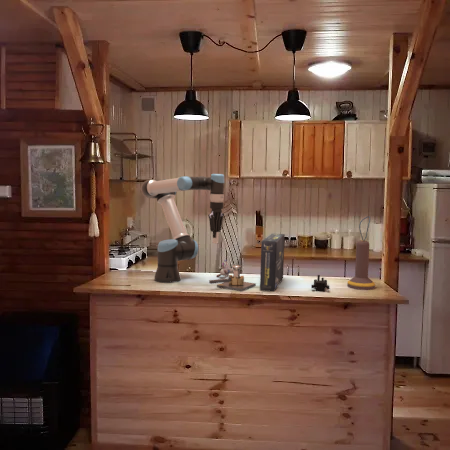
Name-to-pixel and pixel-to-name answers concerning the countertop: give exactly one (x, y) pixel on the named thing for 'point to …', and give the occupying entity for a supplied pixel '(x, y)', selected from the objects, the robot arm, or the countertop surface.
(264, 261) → the box
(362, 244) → the flashlight
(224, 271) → the figurine
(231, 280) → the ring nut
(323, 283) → the toy
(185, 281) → the countertop surface
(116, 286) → the countertop surface
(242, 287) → the brass fixture on plate
